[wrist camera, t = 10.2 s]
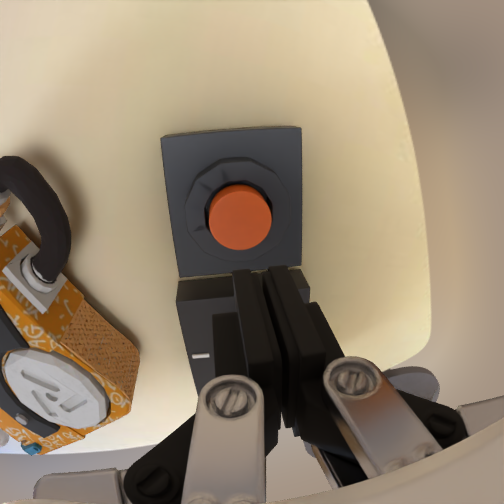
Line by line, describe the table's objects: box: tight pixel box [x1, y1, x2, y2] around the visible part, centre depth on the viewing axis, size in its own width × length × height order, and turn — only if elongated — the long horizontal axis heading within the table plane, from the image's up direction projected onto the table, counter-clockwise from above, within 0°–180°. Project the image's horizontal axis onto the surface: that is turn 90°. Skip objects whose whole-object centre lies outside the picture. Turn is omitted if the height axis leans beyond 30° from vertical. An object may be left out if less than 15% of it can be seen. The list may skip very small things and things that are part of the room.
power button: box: [209, 184, 272, 250], centre depth 19 cm, size 4×4×2 cm
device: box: [0, 156, 140, 455], centre depth 22 cm, size 23×8×30 cm
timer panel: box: [176, 269, 310, 397], centre depth 27 cm, size 11×10×3 cm
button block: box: [161, 126, 302, 278], centre depth 21 cm, size 10×9×4 cm
